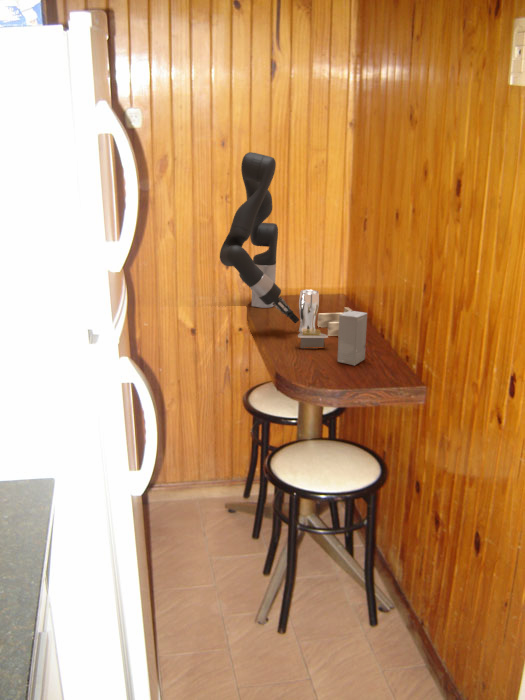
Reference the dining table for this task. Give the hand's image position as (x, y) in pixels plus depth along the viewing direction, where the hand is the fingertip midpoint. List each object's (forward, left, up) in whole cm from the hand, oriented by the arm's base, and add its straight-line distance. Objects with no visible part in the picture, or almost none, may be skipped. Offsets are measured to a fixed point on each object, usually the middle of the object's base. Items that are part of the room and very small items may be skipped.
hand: (296, 321), depth 261 cm
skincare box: (+17, -29, -5) cm, 33 cm away
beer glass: (+4, +1, -5) cm, 6 cm away
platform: (+5, -16, -5) cm, 18 cm away
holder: (+15, +4, -4) cm, 16 cm away
